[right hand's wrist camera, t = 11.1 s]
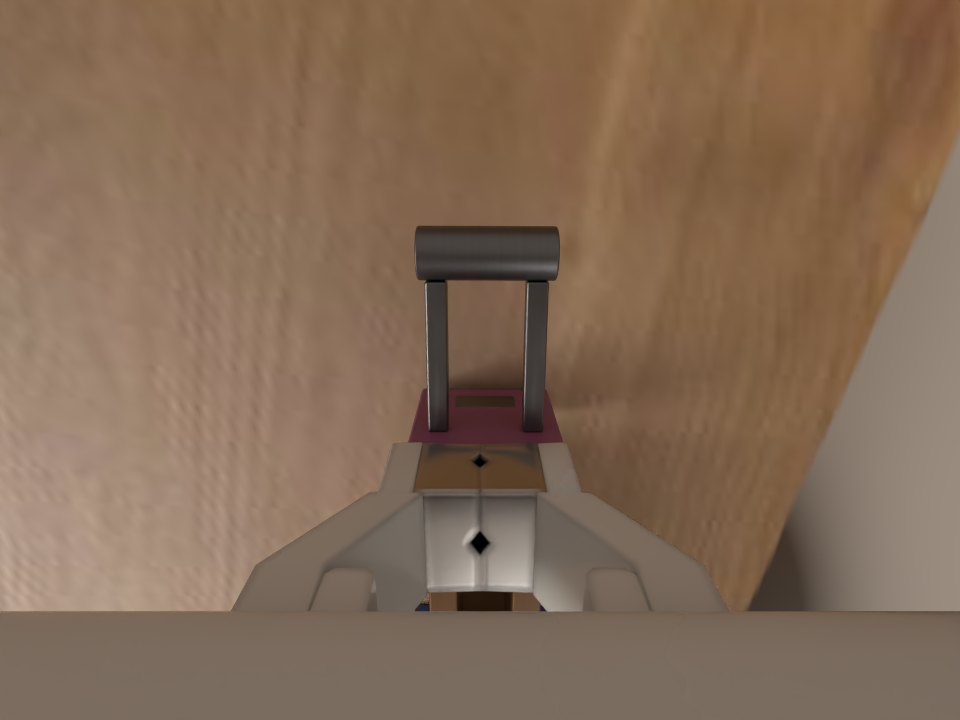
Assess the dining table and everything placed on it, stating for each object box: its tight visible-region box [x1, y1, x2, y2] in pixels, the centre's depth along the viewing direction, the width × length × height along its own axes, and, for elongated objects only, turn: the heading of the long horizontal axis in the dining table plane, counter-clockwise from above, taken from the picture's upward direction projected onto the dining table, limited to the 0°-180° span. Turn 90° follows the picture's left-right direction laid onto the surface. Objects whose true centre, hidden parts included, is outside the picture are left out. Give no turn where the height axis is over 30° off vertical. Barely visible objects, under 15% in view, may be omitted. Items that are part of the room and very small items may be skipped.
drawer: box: [408, 226, 563, 611], centre depth 20 cm, size 24×4×6 cm, turn 0°
